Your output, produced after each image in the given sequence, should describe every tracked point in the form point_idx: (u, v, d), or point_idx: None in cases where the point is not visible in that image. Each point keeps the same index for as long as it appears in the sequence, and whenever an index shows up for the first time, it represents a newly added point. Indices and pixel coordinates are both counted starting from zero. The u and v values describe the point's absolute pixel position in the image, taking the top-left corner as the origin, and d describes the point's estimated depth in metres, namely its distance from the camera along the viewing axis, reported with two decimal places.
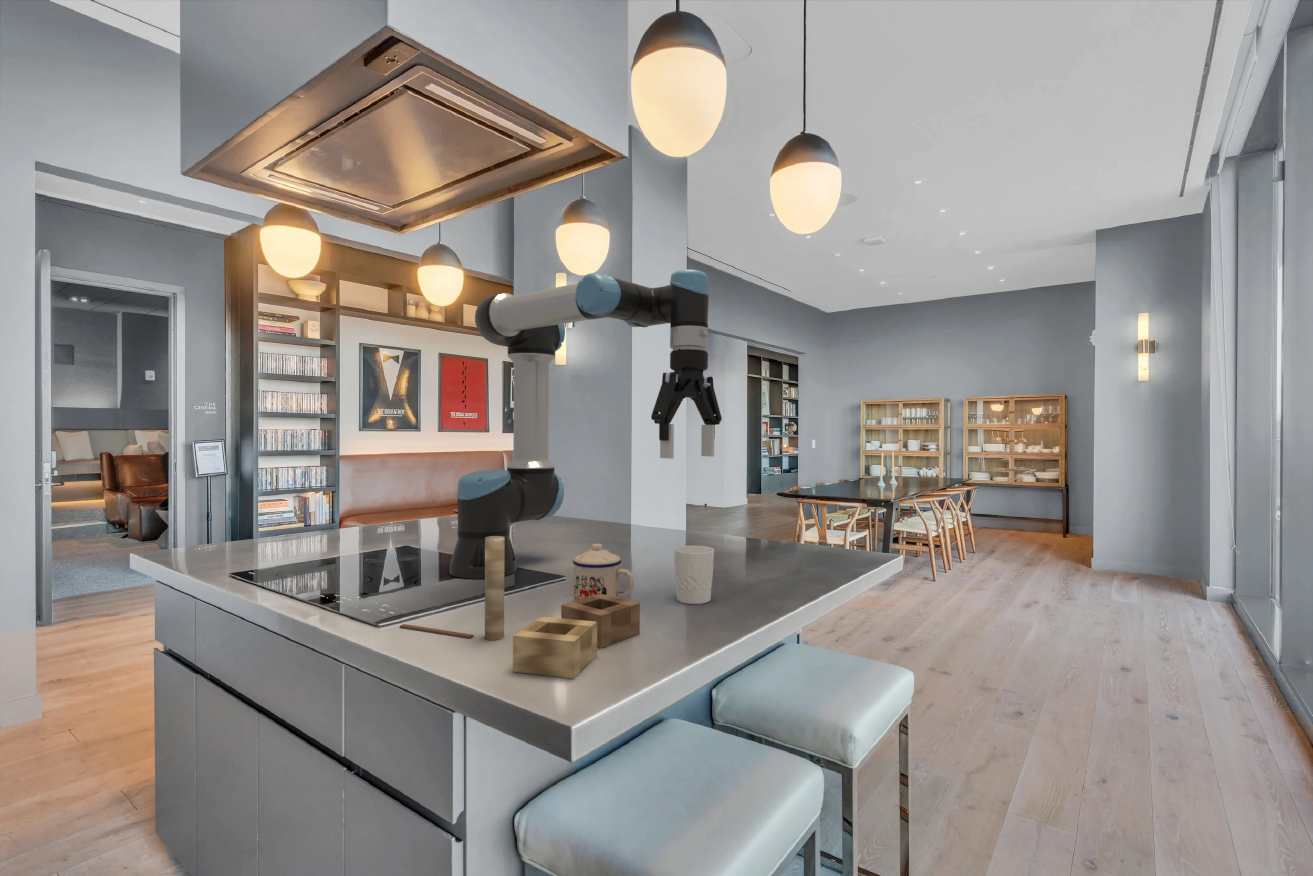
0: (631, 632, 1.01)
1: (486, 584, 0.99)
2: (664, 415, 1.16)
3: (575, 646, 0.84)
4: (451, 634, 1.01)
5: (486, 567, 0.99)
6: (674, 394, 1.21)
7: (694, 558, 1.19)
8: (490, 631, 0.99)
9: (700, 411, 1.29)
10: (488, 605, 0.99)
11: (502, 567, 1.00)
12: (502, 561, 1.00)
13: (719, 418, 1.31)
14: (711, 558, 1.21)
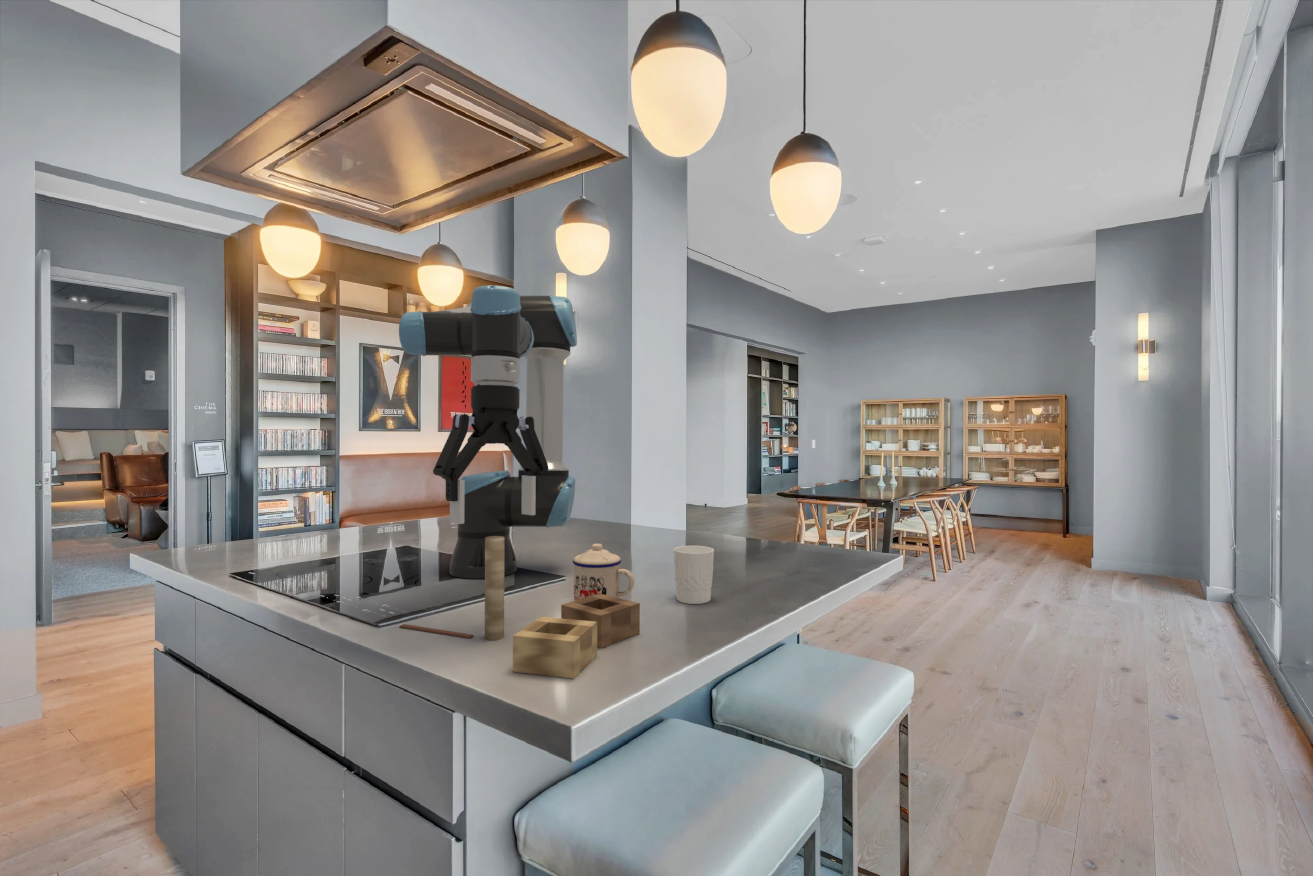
0: (631, 632, 1.01)
1: (486, 584, 0.99)
2: (447, 470, 0.92)
3: (575, 646, 0.84)
4: (451, 634, 1.01)
5: (486, 567, 0.99)
6: (471, 441, 0.97)
7: (694, 558, 1.19)
8: (490, 631, 0.99)
9: (518, 459, 1.04)
10: (488, 605, 0.99)
11: (502, 567, 1.00)
12: (502, 561, 1.00)
13: (544, 467, 1.06)
14: (711, 558, 1.21)
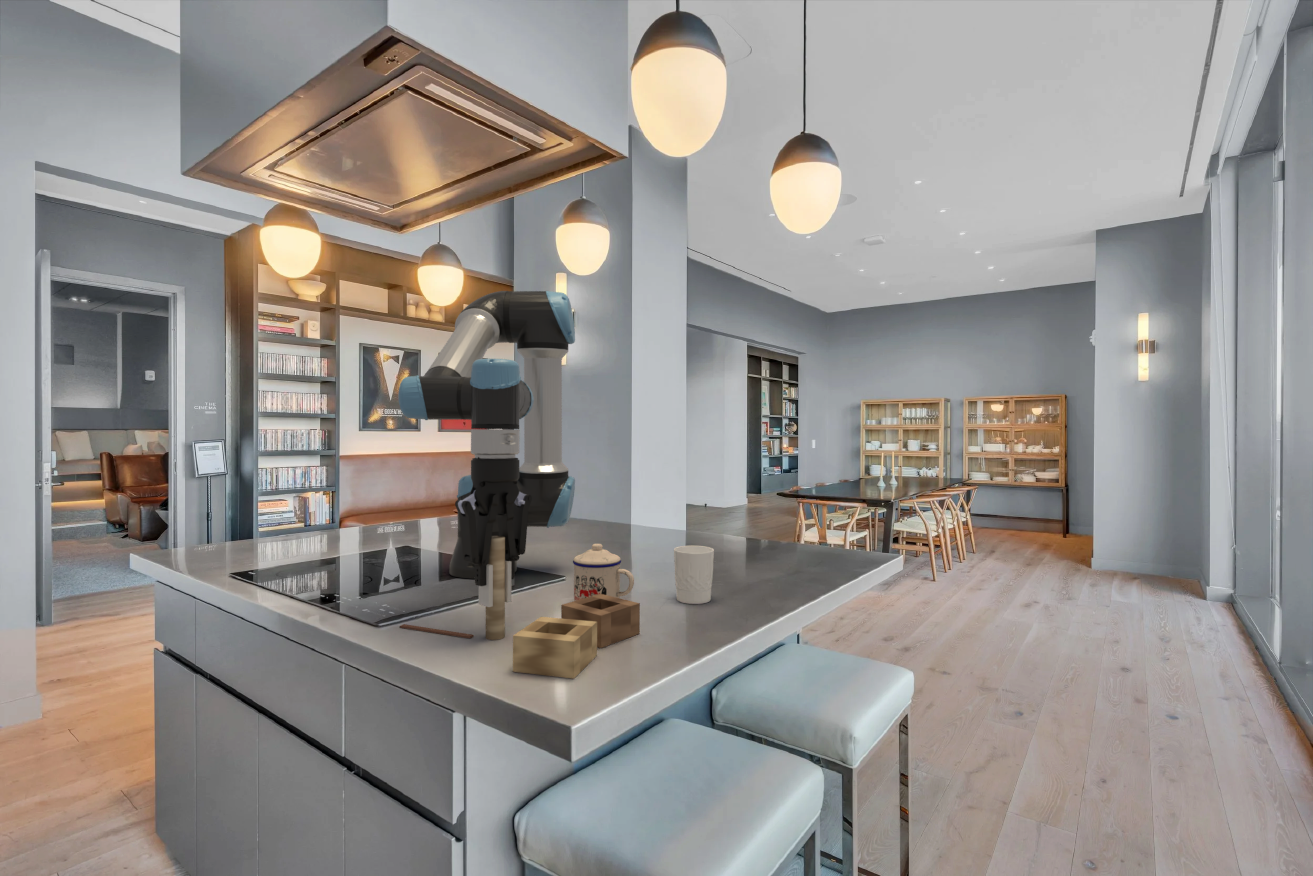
0: (631, 632, 1.01)
1: None
2: (476, 557, 0.96)
3: (575, 646, 0.84)
4: (451, 634, 1.01)
5: None
6: (481, 521, 0.98)
7: (694, 558, 1.19)
8: (491, 630, 0.99)
9: None
10: None
11: (503, 567, 1.00)
12: (503, 561, 1.00)
13: (521, 550, 1.03)
14: (711, 558, 1.21)
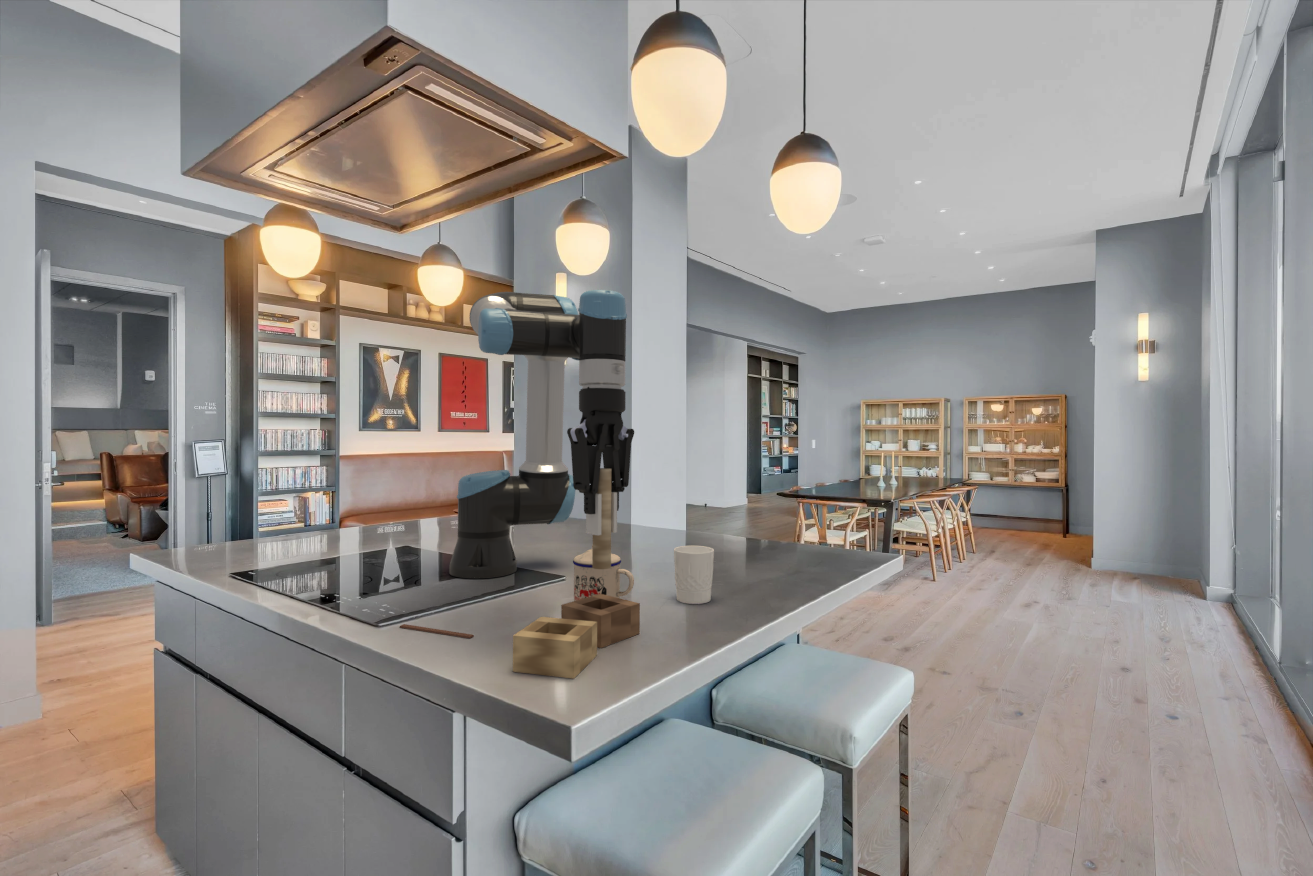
0: (631, 632, 1.01)
1: None
2: (587, 484, 0.97)
3: (575, 646, 0.84)
4: (451, 634, 1.01)
5: None
6: (590, 450, 1.00)
7: (694, 558, 1.19)
8: (599, 560, 1.00)
9: None
10: None
11: (610, 497, 1.01)
12: (610, 491, 1.01)
13: (625, 482, 1.04)
14: (711, 558, 1.21)
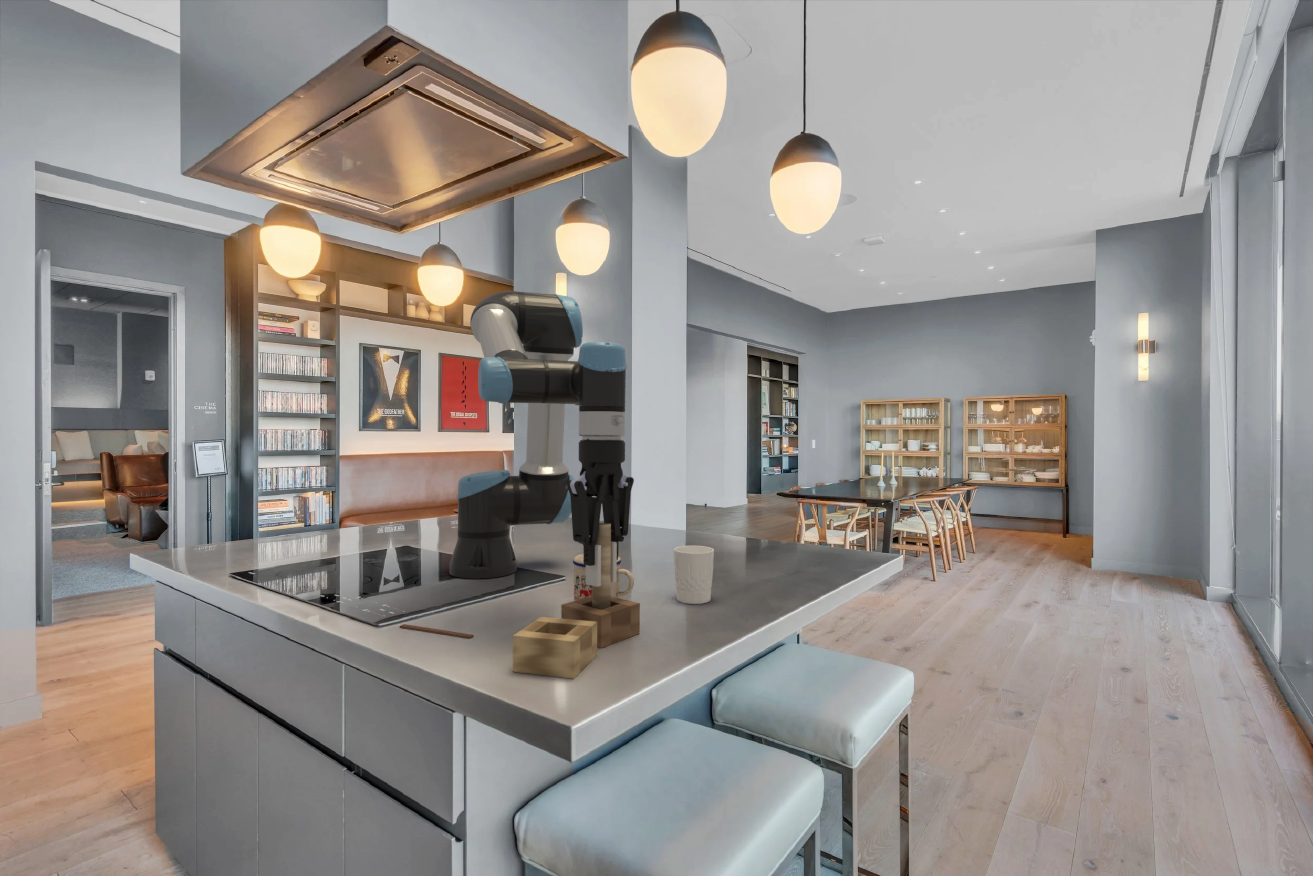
0: (631, 632, 1.01)
1: None
2: (587, 536, 0.97)
3: (575, 646, 0.84)
4: (451, 634, 1.01)
5: None
6: (589, 501, 1.00)
7: (694, 558, 1.19)
8: None
9: (605, 518, 1.03)
10: (596, 590, 1.00)
11: (609, 553, 1.01)
12: (609, 547, 1.01)
13: (624, 531, 1.04)
14: (711, 558, 1.21)
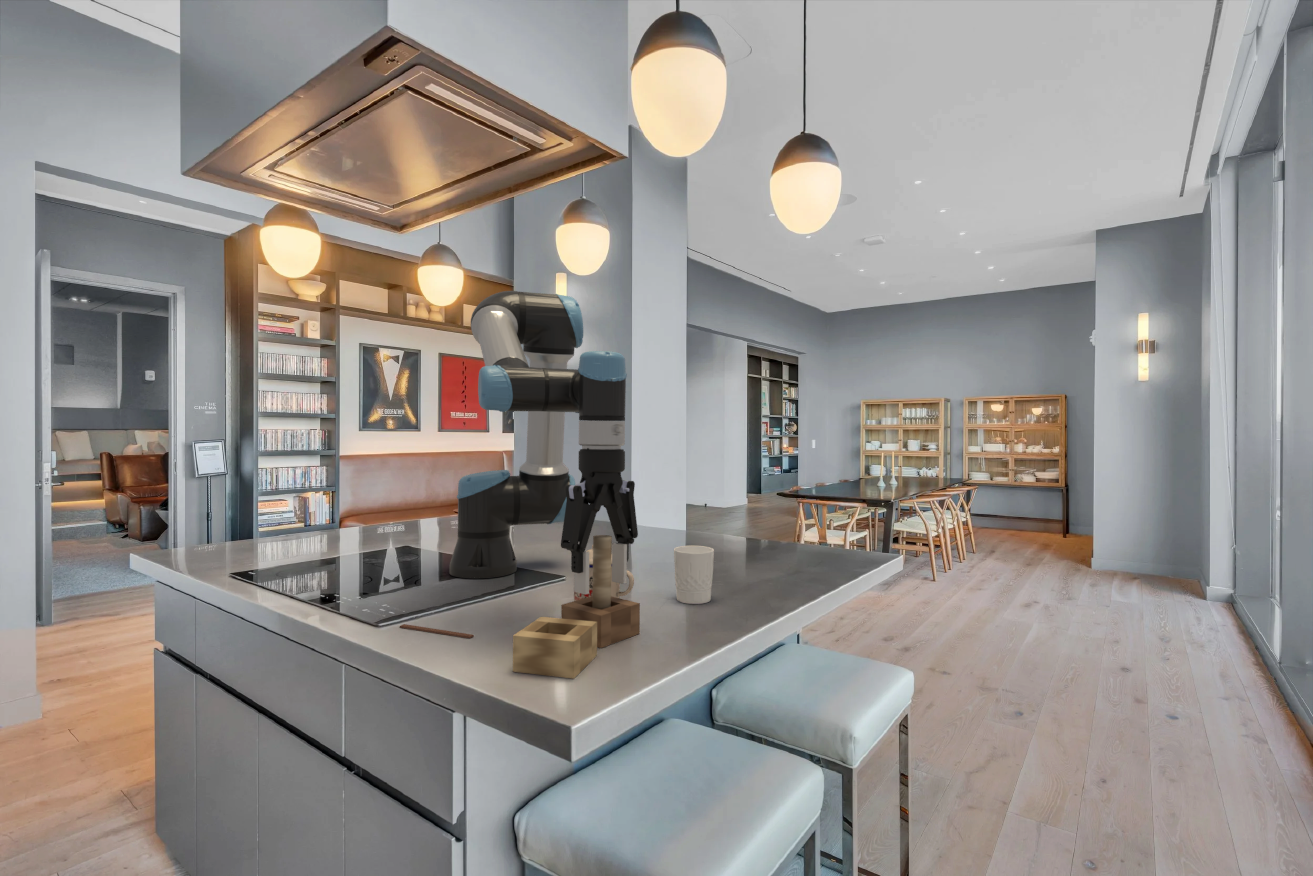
0: (631, 632, 1.01)
1: (594, 582, 1.01)
2: (575, 543, 0.96)
3: (575, 646, 0.84)
4: (451, 634, 1.01)
5: (595, 565, 1.01)
6: (585, 508, 0.99)
7: (694, 558, 1.19)
8: None
9: (612, 523, 1.05)
10: (597, 603, 1.01)
11: (610, 565, 1.01)
12: (610, 559, 1.01)
13: (634, 534, 1.06)
14: (711, 558, 1.21)
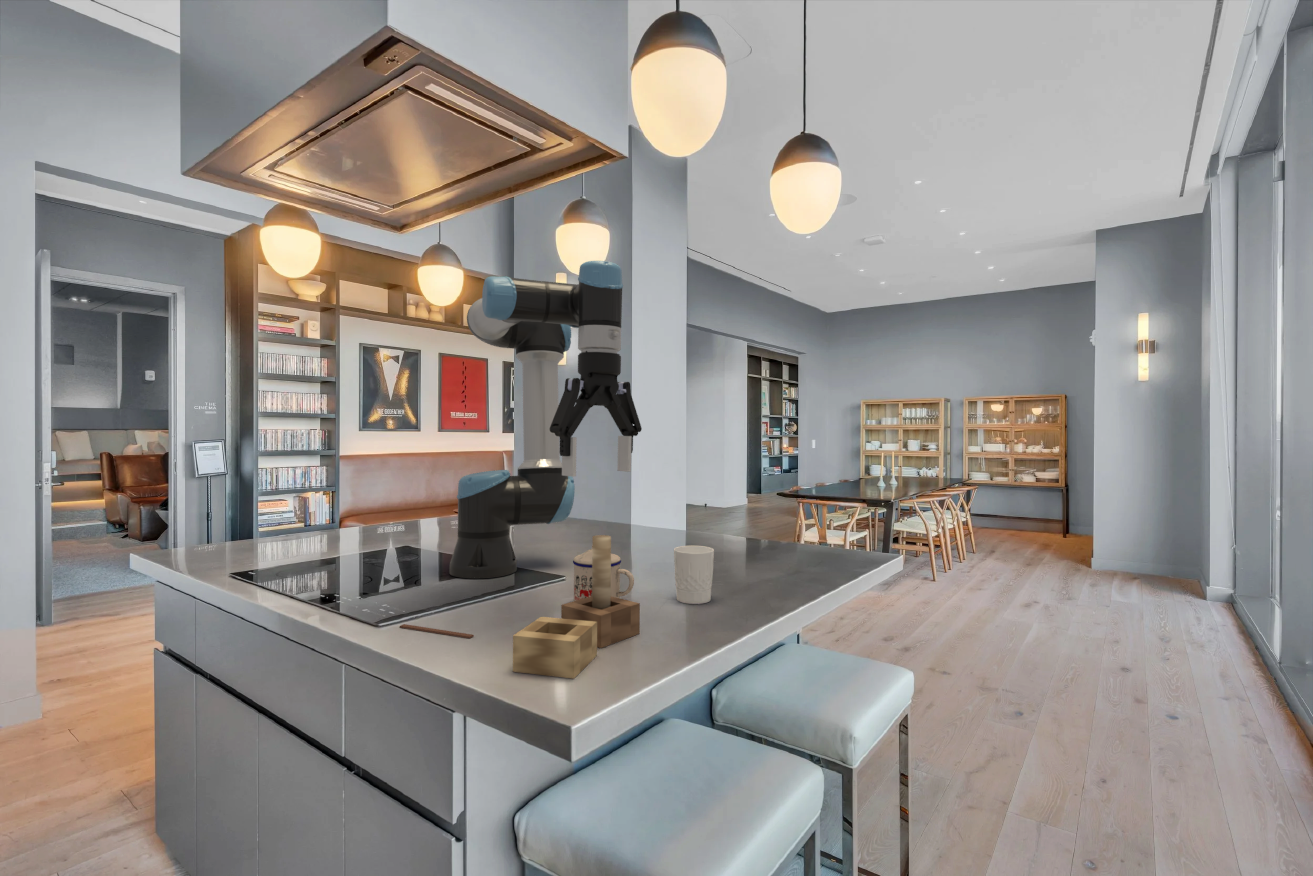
0: (631, 632, 1.01)
1: (594, 582, 1.01)
2: (563, 427, 1.02)
3: (575, 646, 0.84)
4: (451, 634, 1.01)
5: (594, 566, 1.01)
6: (580, 403, 1.07)
7: (694, 558, 1.19)
8: None
9: (615, 421, 1.14)
10: (596, 603, 1.01)
11: (609, 566, 1.01)
12: (609, 560, 1.01)
13: (638, 428, 1.16)
14: (711, 558, 1.21)
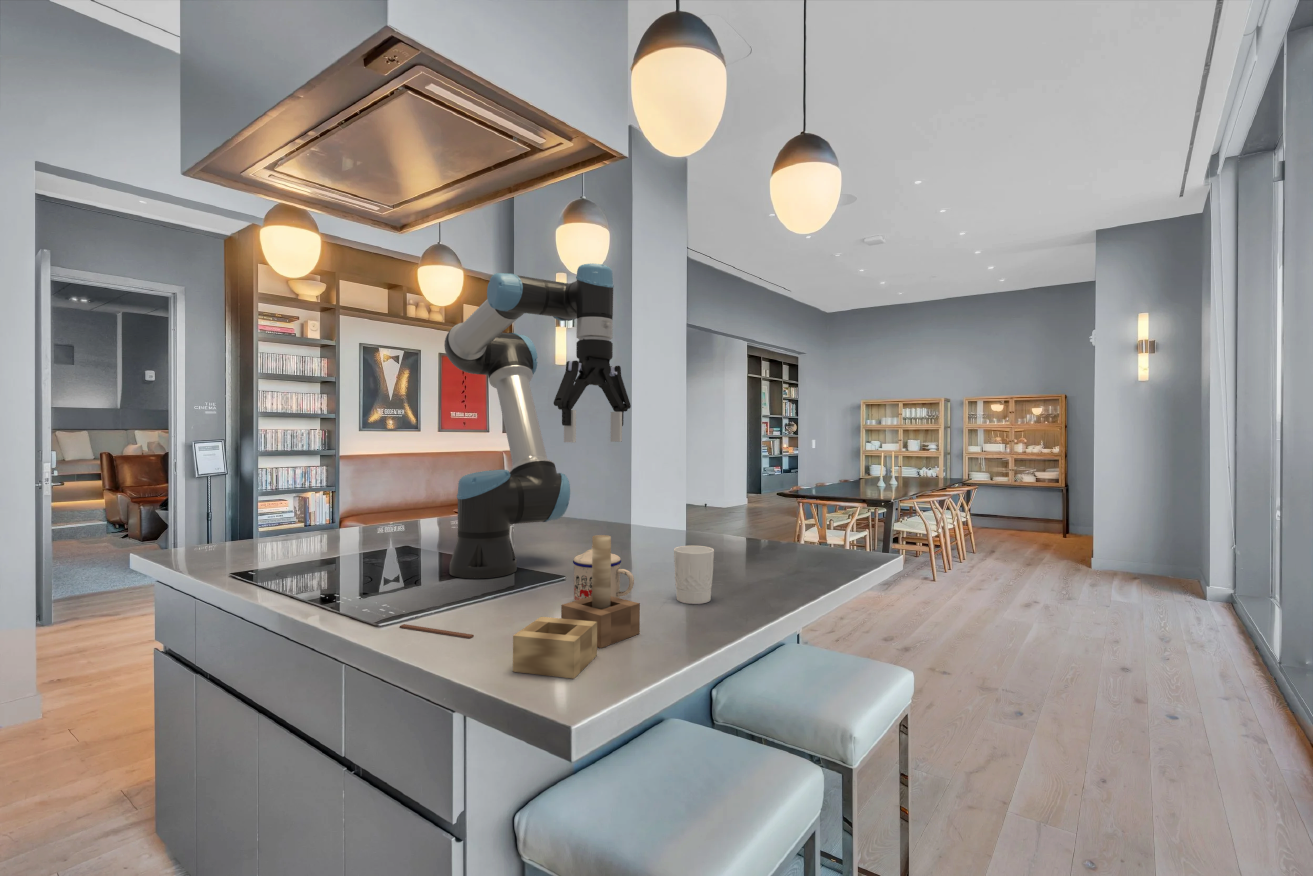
0: (631, 632, 1.01)
1: (594, 582, 1.01)
2: (565, 401, 1.23)
3: (575, 646, 0.84)
4: (451, 634, 1.01)
5: (594, 566, 1.01)
6: (578, 382, 1.28)
7: (694, 558, 1.19)
8: None
9: (608, 398, 1.35)
10: (596, 603, 1.01)
11: (609, 566, 1.01)
12: (609, 560, 1.01)
13: (628, 405, 1.37)
14: (711, 558, 1.21)
